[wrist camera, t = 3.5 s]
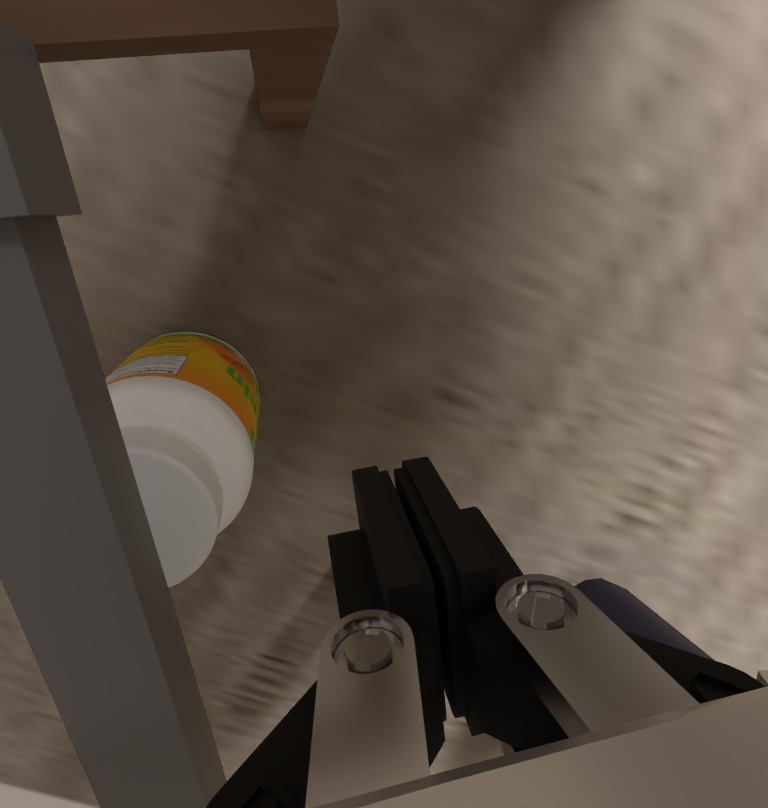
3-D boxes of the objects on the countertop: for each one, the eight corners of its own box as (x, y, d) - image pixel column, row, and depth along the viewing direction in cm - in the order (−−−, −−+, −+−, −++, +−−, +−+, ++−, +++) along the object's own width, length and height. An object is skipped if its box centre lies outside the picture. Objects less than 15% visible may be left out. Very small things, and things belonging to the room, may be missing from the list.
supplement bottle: (275, 439, 23) (273, 587, 14) (147, 469, 22) (56, 646, 13) (240, 315, 21) (211, 394, 12) (98, 345, 20) (-47, 453, 11)
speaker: (579, 698, 31) (719, 892, 21) (501, 667, 30) (613, 862, 20) (649, 590, 30) (828, 741, 21) (573, 553, 29) (727, 697, 19)
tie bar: (-248, -108, 7) (-441, -225, 5) (-12, -113, 7) (-111, -224, 5) (169, 908, 15) (153, 1008, 13) (272, 880, 15) (271, 974, 13)
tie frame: (-421, 130, 16) (-1751, -25, 5) (300, 76, 18) (326, -89, 8) (-107, 680, 23) (-407, 1047, 13) (368, 582, 26) (426, 820, 16)
